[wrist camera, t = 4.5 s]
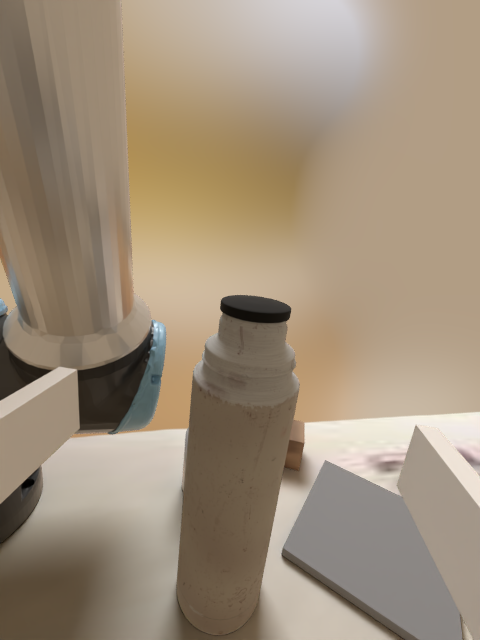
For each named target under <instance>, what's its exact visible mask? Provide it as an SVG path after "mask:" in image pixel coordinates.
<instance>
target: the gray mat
mask: <svg viewBox="0 0 480 640" xmlns="http://www.w3.org/2000/svg"><path fill="white" fill-rule="evenodd" d="M282 555H283V556H284V557H286V558H287V559H288V560H290V561H291V562H293V563H294V564H296V565H297V566H299V567H300V568H302V569H303V570H304V571H306V572H307V573H309V574H310V575H312V576H313V577H315V578H316V579H318V580H319V581H320V582H322V583H323V584H325V585H326V586H328V587H329V588H331V589H332V590H334V591H335V592H336V593H338V594H339V595H341V596H342V597H344V598H345V599H347V600H348V601H350V602H351V603H352V604H354V605H355V606H357V607H358V608H360V609H361V610H363V611H364V612H366V613H367V614H368V615H370V616H371V617H373V618H374V619H376V620H377V621H379V622H380V623H382V624H383V625H384V626H386V627H387V628H389V629H390V630H392V631H393V632H395V633H396V634H397V635H399V636H400V637H402V638H403V639H405V640H462V630H461V620H460V612H459V610H458V608H457V606H456V604H455V602H454V600H453V598H452V596H451V594H450V592H449V590H448V588H447V586H446V584H445V582H444V580H443V578H442V576H441V574H440V572H439V570H438V568H437V566H436V564H435V562H434V560H433V558H432V556H431V554H430V552H429V550H428V548H427V546H426V544H425V542H424V540H423V538H422V535H421V533H420V531H419V529H418V527H417V525H416V523H415V521H414V519H413V517H412V515H411V513H410V511H409V509H408V507H407V505H406V503H405V501H404V499H403V497H401V496H399V495H397V494H395V493H392V492H390V491H388V490H386V489H384V488H382V487H380V486H378V485H376V484H374V483H372V482H370V481H368V480H365V479H363V478H361V477H359V476H357V475H355V474H353V473H351V472H349V471H347V470H345V469H343V468H340V467H338V466H336V465H334V464H332V463H330V462H328V461H326V460H325V462H324V464H323V466H322V468H321V470H320V472H319V474H318V476H317V479H316V481H315V483H314V485H313V487H312V489H311V491H310V493H309V495H308V497H307V499H306V501H305V503H304V505H303V507H302V510H301V512H300V514H299V516H298V518H297V520H296V522H295V524H294V526H293V528H292V530H291V532H290V534H289V536H288V539H287V541H286V543H285V545H284V547H283V550H282Z"/></svg>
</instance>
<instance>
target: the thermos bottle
mask: <svg viewBox="0 0 480 640" xmlns="http://www.w3.org/2000/svg"><path fill="white" fill-rule="evenodd" d="M220 309H221V311H222V312H223V314H222V316H221V317H220V322H219V331H218V333H216V334H214V335H212V336H210V337H209V338H208V339H207V341H206V343H205V350H204V352H203V354H202V360H201V361H200V362H199V363H198V364H197V365H196V366H195V368H194V371H193V381H192V394H191V406H190V419H189V432H188V445H187V457H186V470H185V483H184V496H183V509H182V522H181V534H180V547H179V560H178V573H177V597H178V601H179V604H180V608H181V610H182V612H183V613H184V615H185V617H186V618H187V619H188V620H189V622H190V623H191V624H192V625H193V626H195V627H196V628H197V629H199V630H200V631H203V632H205V633H207V634H212V635H224V634H228V633H231V632H234V631H236V630H237V629H239V628H240V627H242V626H243V625H244V624H245V623H246V622H247V621H248V620H249V618H250V617H251V615H252V614H253V612H254V610H255V608H256V605H257V602H258V598H259V593H260V588H261V583H262V578H263V572H264V567H265V562H266V557H267V552H268V547H269V542H270V536H271V531H272V526H273V521H274V516H275V511H276V506H277V501H278V495H279V490H280V485H281V480H282V475H283V470H284V465H285V460H286V454H287V449H288V444H289V439H290V434H291V429H292V424H293V418H294V413H295V408H296V403H297V397H298V392H299V385H300V384H299V380H298V378H297V376H296V375H295V374H294V372H292V371H293V369H294V368H295V366H296V361H295V352H294V350H293V348H292V347H291V346H290V345H289V344H287V343H286V342H285V340H286V334H287V324H286V321H287V320H288V319H289V318H290V313H291V308H290V306H288V305H287V304H285V303H282V302H279V301H277V300H273V299H269V298H264V297H257V296H248V295H235V296H227V297H224V298H222V300H221V306H220Z"/></svg>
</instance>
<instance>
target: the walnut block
mask: <svg viewBox="0 0 480 640" xmlns="http://www.w3.org/2000/svg"><path fill="white" fill-rule="evenodd" d="M303 447H304V422H300V421H295V420H293V424H292V429H291V434H290V439H289V444H288V449H287V454H286V460H285V465H284V467H285V468H289V469H293V470H297V471H299V466H300V462H301V457H302V452H303Z"/></svg>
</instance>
